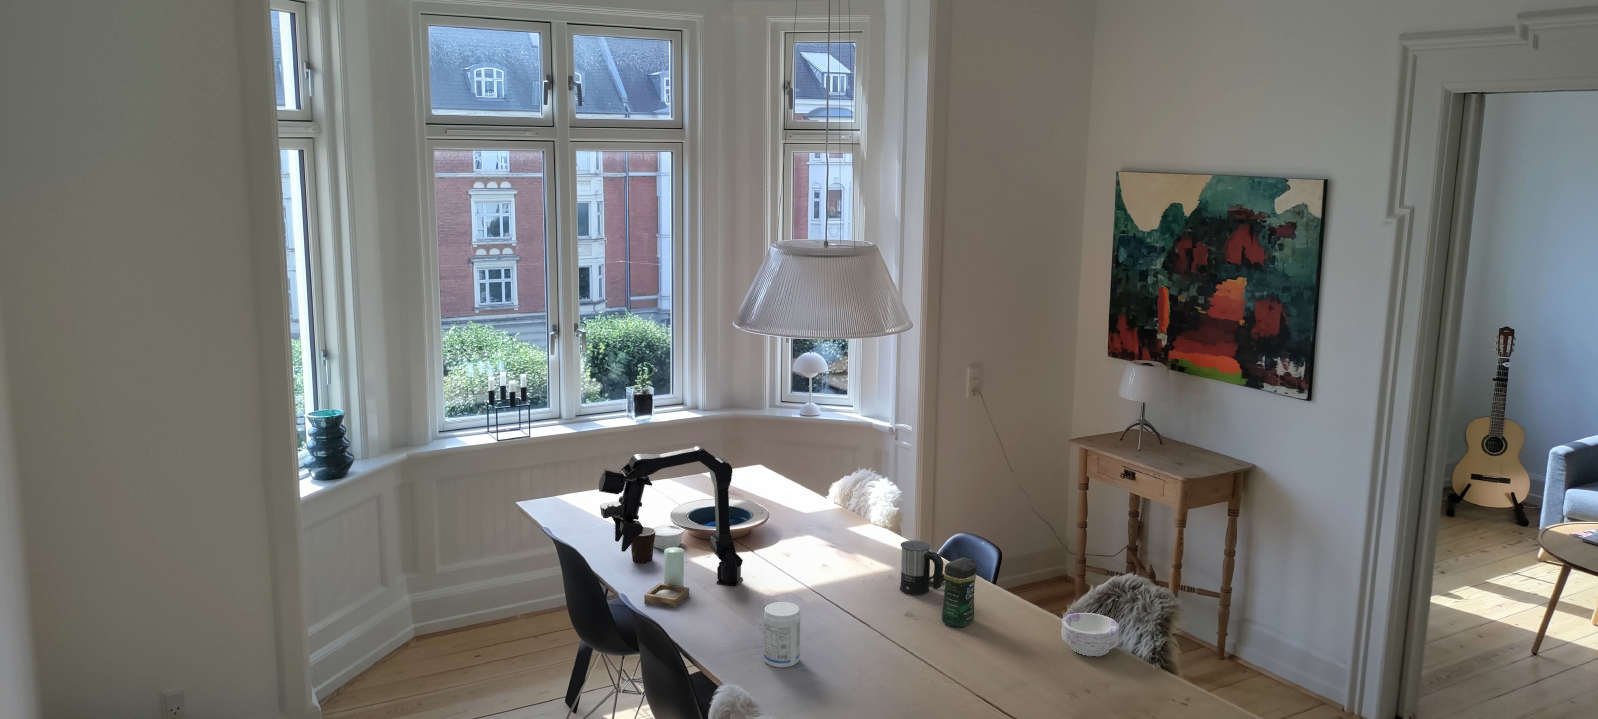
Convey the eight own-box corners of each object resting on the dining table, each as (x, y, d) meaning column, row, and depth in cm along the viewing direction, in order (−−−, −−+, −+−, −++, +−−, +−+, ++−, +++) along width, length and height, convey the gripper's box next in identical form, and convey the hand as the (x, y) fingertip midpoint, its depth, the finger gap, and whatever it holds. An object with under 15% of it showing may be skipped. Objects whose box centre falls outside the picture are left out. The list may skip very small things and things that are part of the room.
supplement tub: (781, 649, 292) (782, 598, 290) (807, 660, 286) (808, 608, 283) (755, 660, 285) (756, 608, 283) (781, 672, 279) (782, 618, 277)
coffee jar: (960, 631, 306) (963, 568, 303) (937, 623, 311) (939, 561, 308) (978, 620, 314) (981, 559, 310) (955, 613, 319) (958, 553, 315)
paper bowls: (1064, 634, 306) (1066, 607, 304) (1120, 643, 300) (1122, 616, 299) (1056, 656, 292) (1058, 628, 290) (1114, 666, 286) (1116, 638, 285)
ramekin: (689, 543, 373) (689, 528, 372) (669, 552, 364) (669, 537, 363) (664, 537, 379) (664, 522, 378) (643, 546, 370) (643, 531, 369)
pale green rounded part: (687, 585, 336) (687, 548, 333) (678, 592, 330) (678, 555, 328) (669, 582, 337) (669, 546, 335) (660, 589, 332) (660, 552, 330)
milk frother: (896, 593, 332) (897, 547, 330) (906, 575, 347) (908, 531, 345) (942, 600, 328) (944, 553, 326) (950, 581, 343) (952, 536, 341)
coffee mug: (650, 566, 351) (650, 536, 350) (625, 563, 353) (625, 534, 351) (662, 553, 362) (662, 525, 361) (637, 551, 364) (637, 523, 362)
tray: (689, 595, 328) (689, 587, 327) (674, 607, 318) (674, 599, 318) (659, 590, 331) (659, 582, 330) (644, 603, 322) (644, 594, 321)
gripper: (600, 483, 329) (588, 532, 330) (612, 501, 311) (599, 553, 313) (635, 489, 333) (623, 537, 334) (649, 507, 316) (636, 558, 317)
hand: (619, 546), depth 324 cm, fingers open, 9 cm apart
